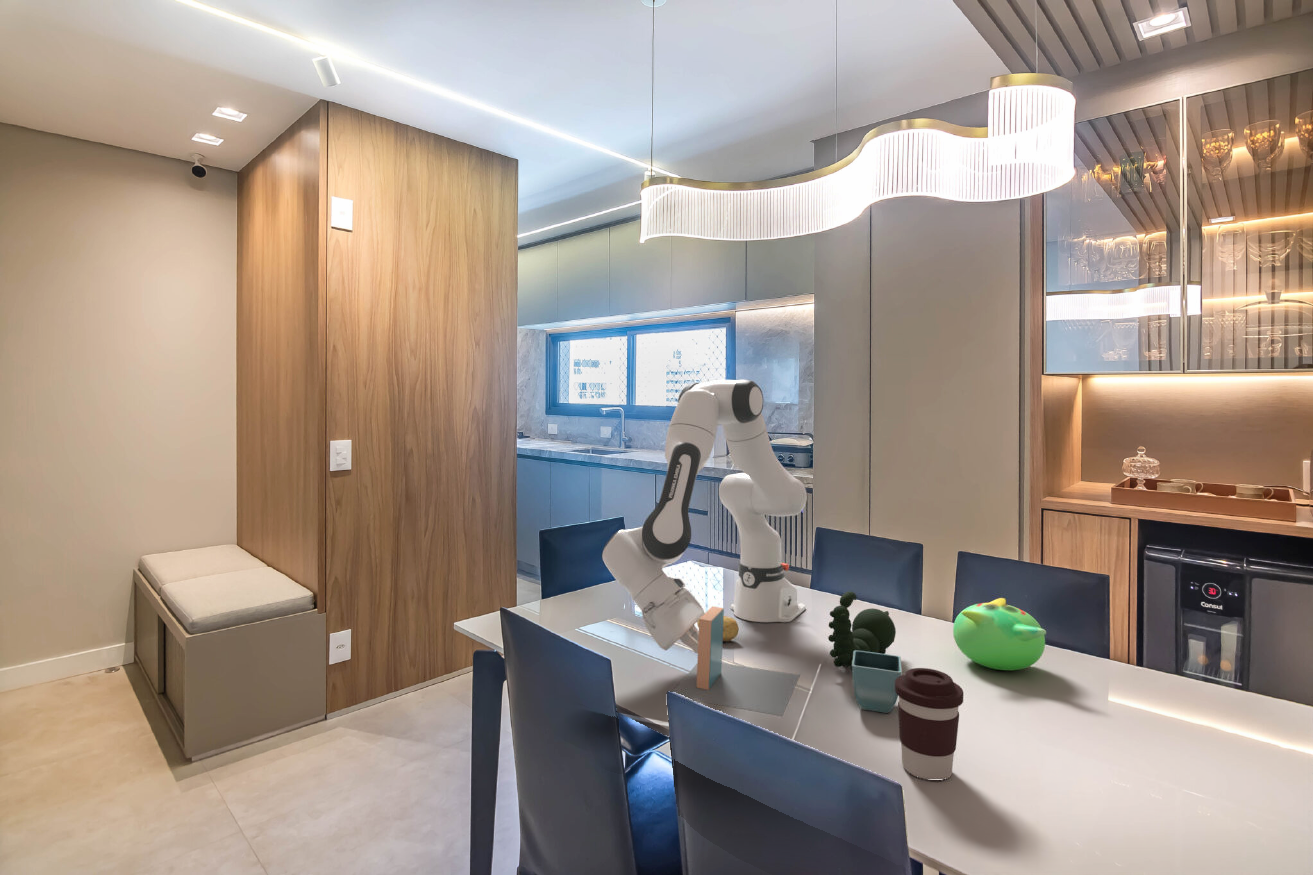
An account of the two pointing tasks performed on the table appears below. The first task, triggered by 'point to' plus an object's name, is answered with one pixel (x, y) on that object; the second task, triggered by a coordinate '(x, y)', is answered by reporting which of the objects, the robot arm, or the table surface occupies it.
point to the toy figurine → (859, 631)
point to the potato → (729, 628)
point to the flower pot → (875, 680)
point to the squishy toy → (999, 636)
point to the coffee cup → (928, 721)
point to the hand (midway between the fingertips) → (701, 649)
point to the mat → (743, 689)
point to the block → (710, 647)
